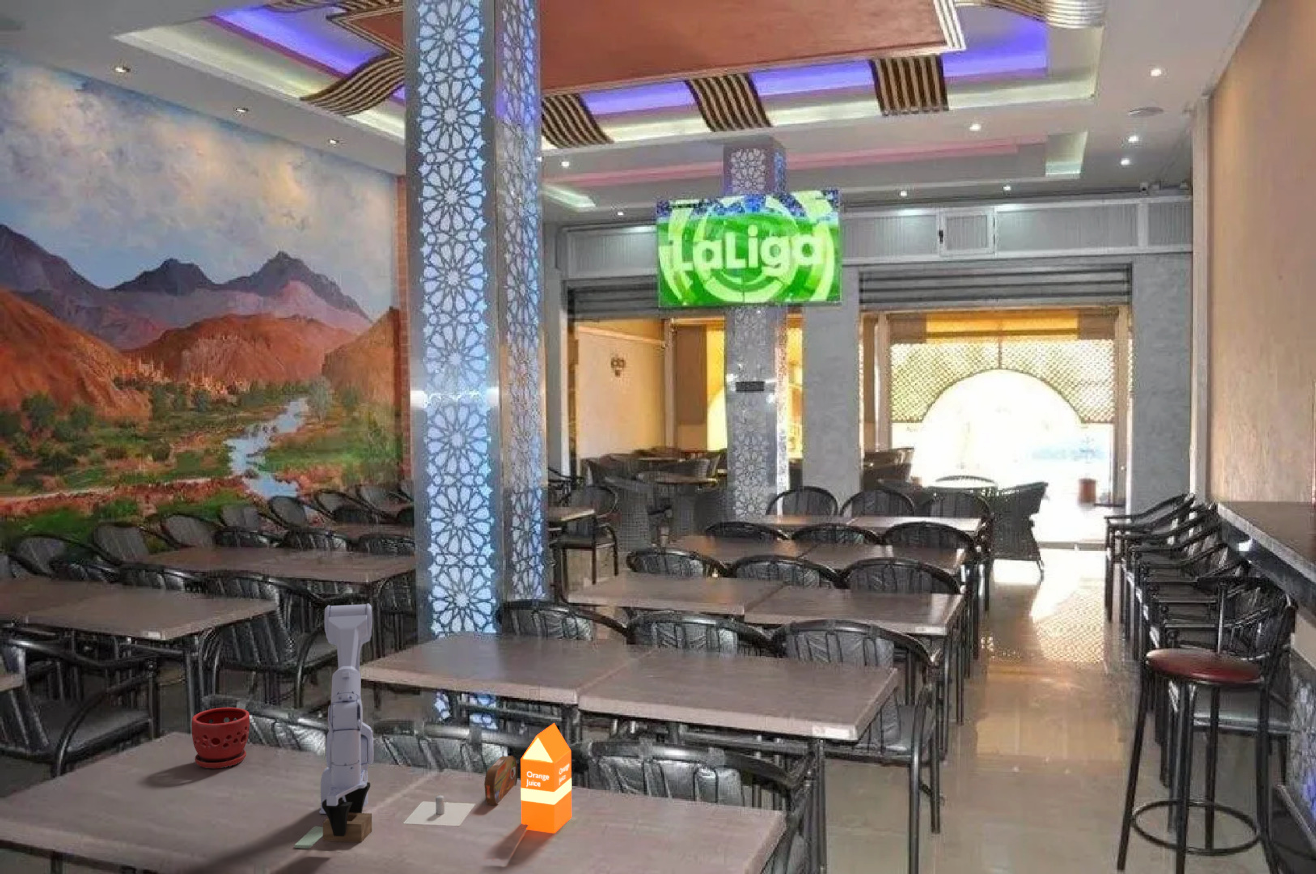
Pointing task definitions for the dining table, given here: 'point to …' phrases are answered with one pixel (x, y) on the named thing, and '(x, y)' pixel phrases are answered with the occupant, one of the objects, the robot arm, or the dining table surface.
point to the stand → (439, 813)
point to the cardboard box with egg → (350, 828)
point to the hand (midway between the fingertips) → (347, 827)
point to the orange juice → (546, 782)
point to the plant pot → (220, 737)
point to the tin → (500, 779)
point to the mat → (310, 838)
